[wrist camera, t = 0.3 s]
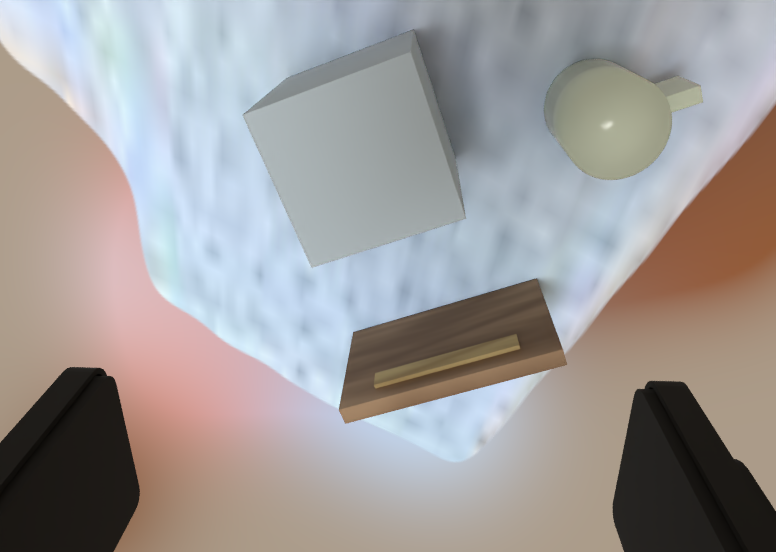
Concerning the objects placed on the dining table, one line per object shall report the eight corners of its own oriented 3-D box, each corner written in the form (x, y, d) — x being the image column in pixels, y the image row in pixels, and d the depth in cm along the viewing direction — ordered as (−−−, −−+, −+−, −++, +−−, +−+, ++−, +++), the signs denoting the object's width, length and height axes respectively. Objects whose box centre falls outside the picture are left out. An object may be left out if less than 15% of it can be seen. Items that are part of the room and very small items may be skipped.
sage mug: (533, 77, 43) (553, 96, 36) (660, 32, 41) (703, 44, 35) (555, 161, 45) (577, 193, 39) (675, 121, 43) (719, 148, 37)
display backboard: (352, 329, 52) (337, 406, 43) (535, 275, 49) (561, 345, 40) (358, 344, 52) (345, 423, 43) (540, 291, 49) (567, 364, 40)
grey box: (285, 78, 43) (239, 115, 33) (413, 29, 42) (410, 51, 31) (335, 198, 47) (309, 268, 36) (455, 158, 45) (465, 218, 34)
